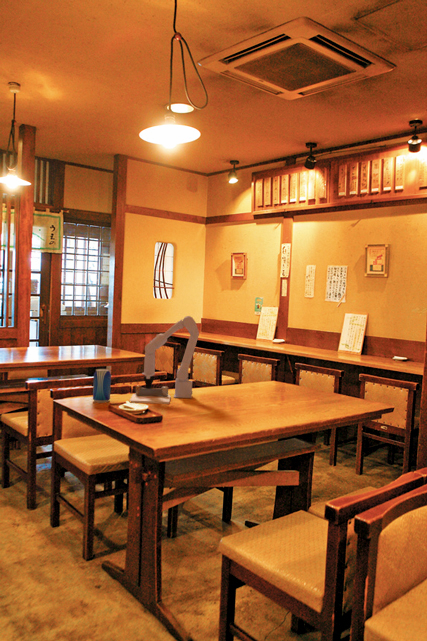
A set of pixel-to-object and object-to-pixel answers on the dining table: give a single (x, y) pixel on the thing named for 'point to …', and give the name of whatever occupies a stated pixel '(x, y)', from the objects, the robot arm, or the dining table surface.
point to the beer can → (101, 386)
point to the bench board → (150, 399)
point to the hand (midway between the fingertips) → (148, 390)
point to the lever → (152, 391)
